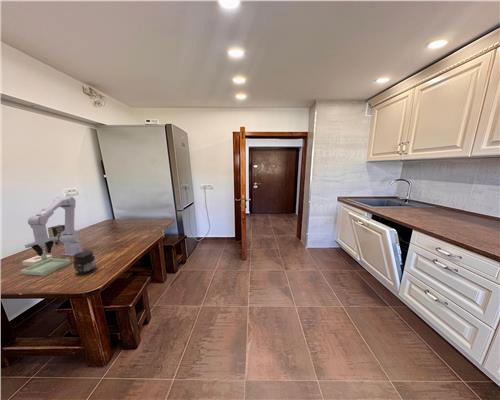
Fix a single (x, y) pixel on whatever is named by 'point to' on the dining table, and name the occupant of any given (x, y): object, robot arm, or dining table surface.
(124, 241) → the dining table surface
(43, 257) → the steel pin
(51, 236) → the coffee box
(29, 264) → the socket block
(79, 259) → the supplement container
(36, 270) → the tray
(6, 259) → the dining table surface
